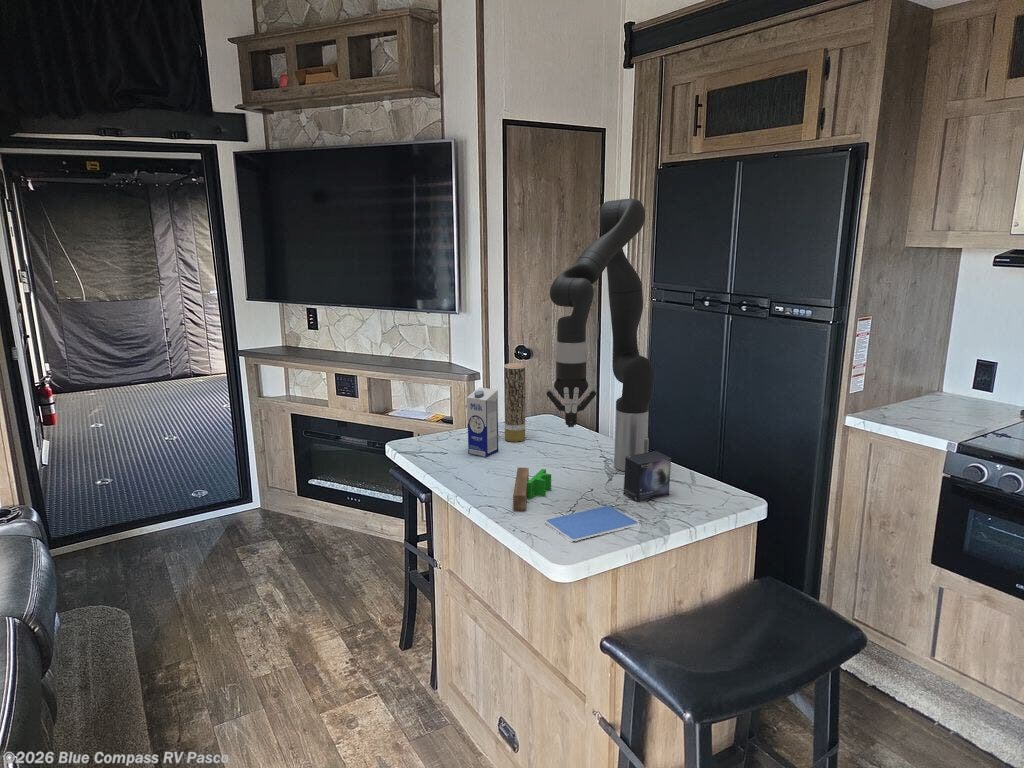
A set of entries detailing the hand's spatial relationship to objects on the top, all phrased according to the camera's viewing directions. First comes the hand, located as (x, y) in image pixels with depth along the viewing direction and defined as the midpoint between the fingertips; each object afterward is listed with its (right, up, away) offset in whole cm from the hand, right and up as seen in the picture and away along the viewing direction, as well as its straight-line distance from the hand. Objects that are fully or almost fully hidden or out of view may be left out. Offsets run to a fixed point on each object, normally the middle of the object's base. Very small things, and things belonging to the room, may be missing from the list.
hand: (570, 426), depth 171 cm
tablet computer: (+4, -23, -12) cm, 26 cm away
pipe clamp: (-7, -18, +7) cm, 21 cm away
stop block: (-12, -18, +5) cm, 23 cm away
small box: (+20, -18, +5) cm, 28 cm away
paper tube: (-14, -8, +52) cm, 54 cm away
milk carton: (-24, -11, +39) cm, 47 cm away
